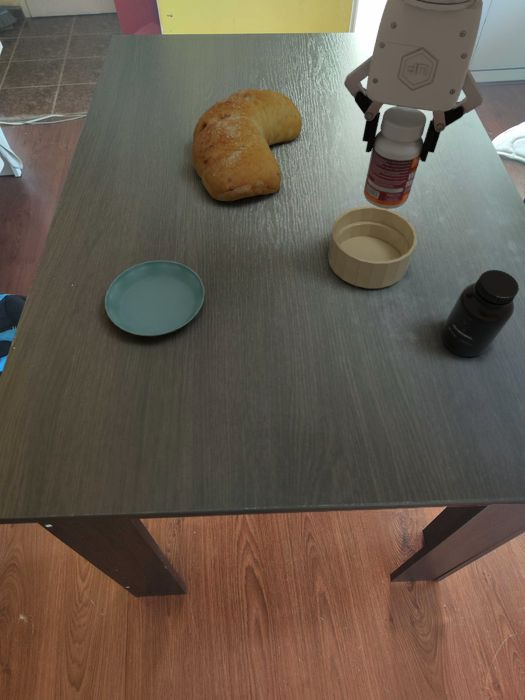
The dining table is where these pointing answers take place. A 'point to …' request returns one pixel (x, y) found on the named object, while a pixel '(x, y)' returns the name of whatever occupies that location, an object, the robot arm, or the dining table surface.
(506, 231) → the dining table surface
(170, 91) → the dining table surface
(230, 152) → the bread
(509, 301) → the supplement bottle
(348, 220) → the beige round bowl
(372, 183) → the pill bottle
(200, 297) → the saucer
